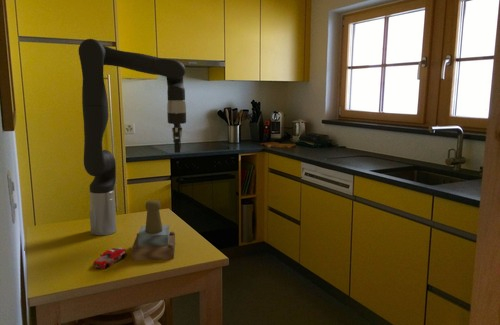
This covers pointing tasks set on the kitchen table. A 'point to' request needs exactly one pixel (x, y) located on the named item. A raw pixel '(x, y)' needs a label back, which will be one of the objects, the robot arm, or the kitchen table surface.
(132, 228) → the kitchen table surface
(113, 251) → the race car
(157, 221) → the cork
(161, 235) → the knobbed square tray
